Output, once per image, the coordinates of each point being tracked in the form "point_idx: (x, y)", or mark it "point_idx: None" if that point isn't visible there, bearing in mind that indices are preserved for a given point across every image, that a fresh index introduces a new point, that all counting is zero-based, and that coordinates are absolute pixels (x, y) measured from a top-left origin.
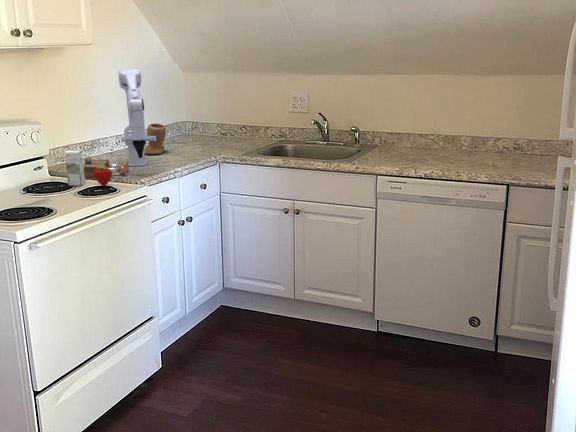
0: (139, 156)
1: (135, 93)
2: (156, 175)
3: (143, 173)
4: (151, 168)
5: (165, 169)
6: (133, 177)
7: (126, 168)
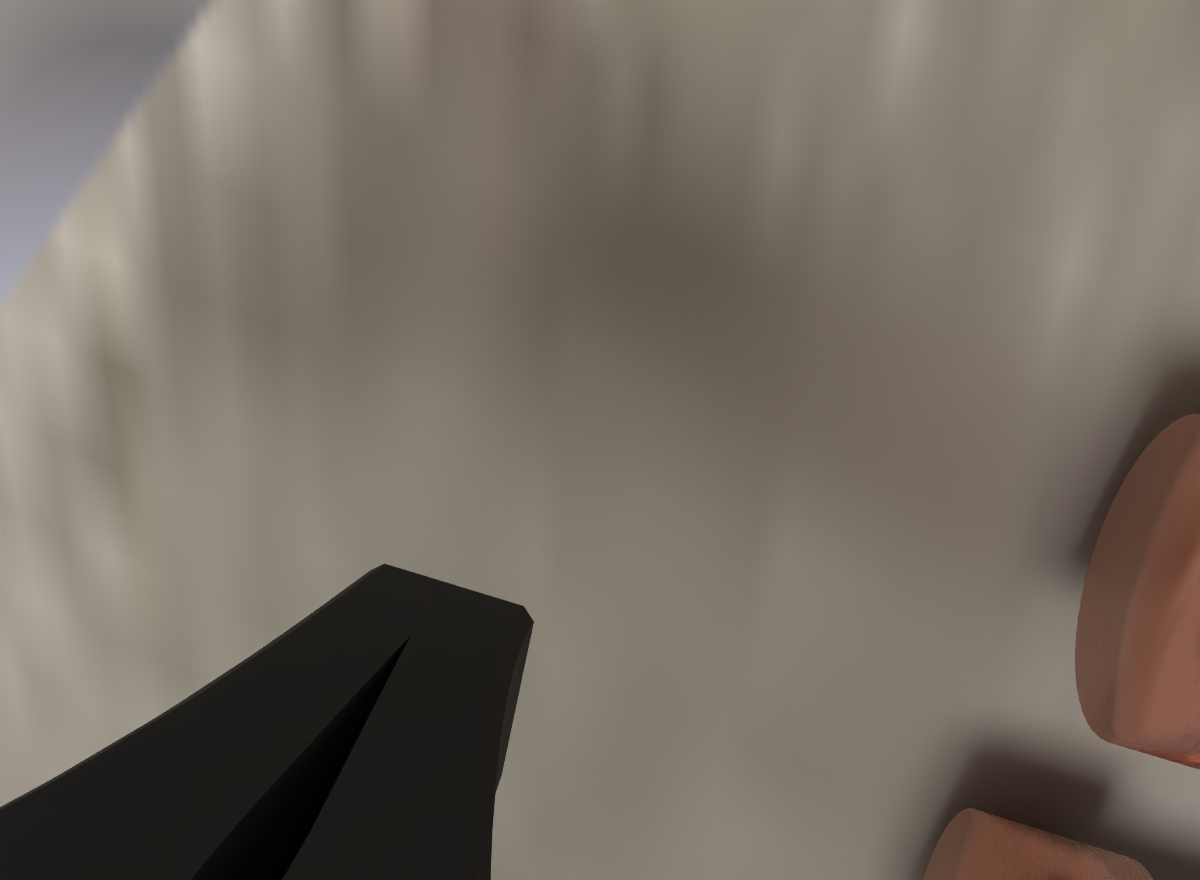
0: (453, 635)
1: None
2: (206, 61)
3: (572, 470)
4: None
5: (63, 624)
6: (945, 60)
7: (1013, 833)
